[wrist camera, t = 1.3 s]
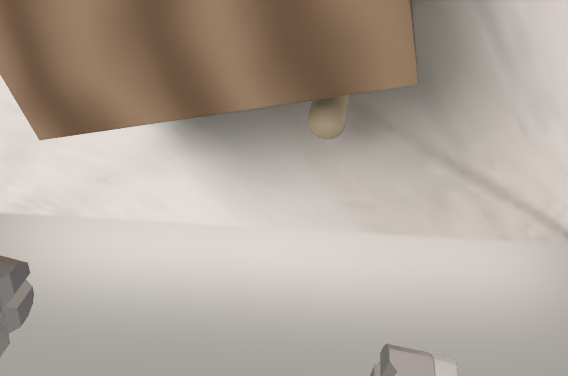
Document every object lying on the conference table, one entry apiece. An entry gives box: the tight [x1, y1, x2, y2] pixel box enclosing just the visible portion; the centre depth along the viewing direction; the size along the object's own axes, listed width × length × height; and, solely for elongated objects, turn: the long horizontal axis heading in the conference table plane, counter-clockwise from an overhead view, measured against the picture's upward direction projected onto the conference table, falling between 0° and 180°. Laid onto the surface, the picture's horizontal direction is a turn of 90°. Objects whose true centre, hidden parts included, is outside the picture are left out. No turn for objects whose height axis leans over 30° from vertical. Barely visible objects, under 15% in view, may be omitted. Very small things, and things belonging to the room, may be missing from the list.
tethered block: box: [308, 95, 349, 139], centre depth 32 cm, size 6×14×6 cm, turn 14°
